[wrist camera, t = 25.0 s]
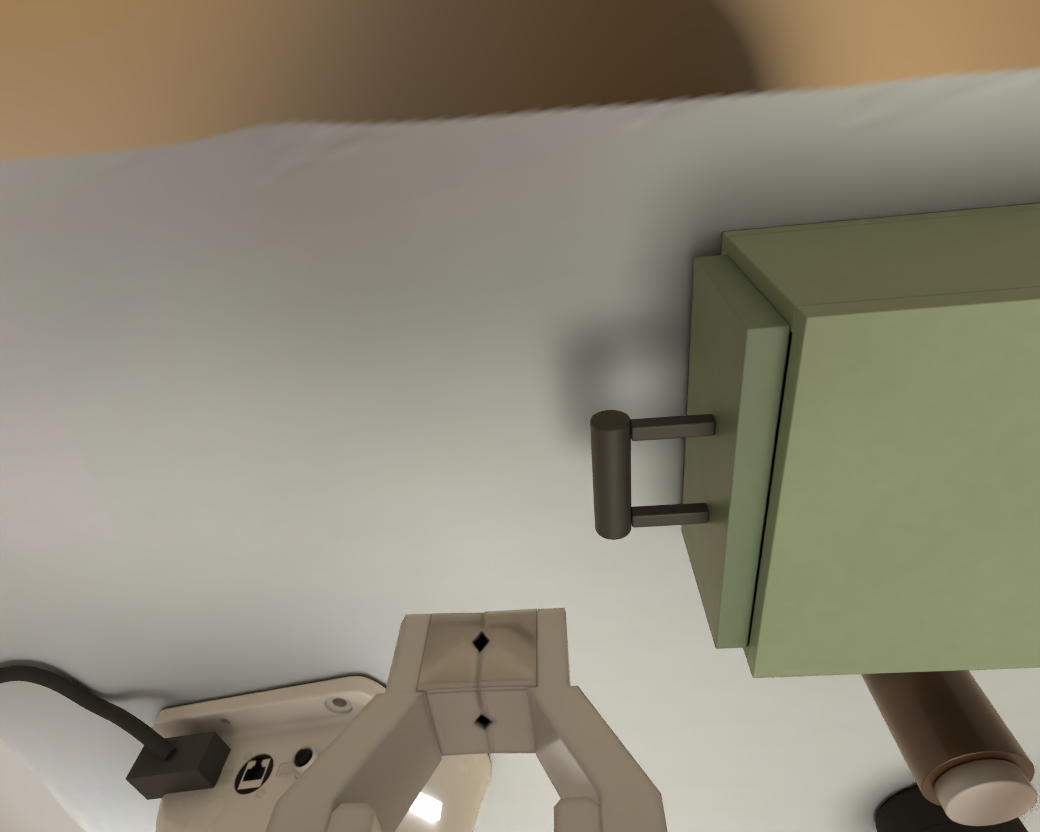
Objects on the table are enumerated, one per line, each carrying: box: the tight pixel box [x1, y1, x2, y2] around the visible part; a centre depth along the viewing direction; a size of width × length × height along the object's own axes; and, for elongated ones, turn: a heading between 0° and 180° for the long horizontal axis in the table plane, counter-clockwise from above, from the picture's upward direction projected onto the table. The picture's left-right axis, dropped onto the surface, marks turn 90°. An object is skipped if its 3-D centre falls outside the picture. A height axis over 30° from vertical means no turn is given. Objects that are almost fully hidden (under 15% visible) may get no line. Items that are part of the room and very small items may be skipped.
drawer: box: [590, 254, 793, 649], centre depth 23 cm, size 17×13×7 cm
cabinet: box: [721, 203, 1040, 678], centre depth 23 cm, size 14×15×9 cm
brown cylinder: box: [861, 670, 1037, 826], centre depth 30 cm, size 5×5×9 cm
